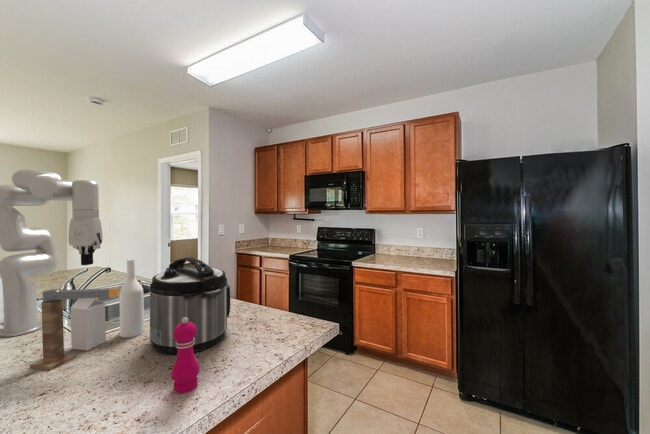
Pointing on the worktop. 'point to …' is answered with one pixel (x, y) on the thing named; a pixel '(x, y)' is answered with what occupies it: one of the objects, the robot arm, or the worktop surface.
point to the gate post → (52, 337)
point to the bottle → (131, 304)
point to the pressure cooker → (188, 304)
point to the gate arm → (79, 294)
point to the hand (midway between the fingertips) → (87, 264)
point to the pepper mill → (185, 358)
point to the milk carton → (87, 323)
